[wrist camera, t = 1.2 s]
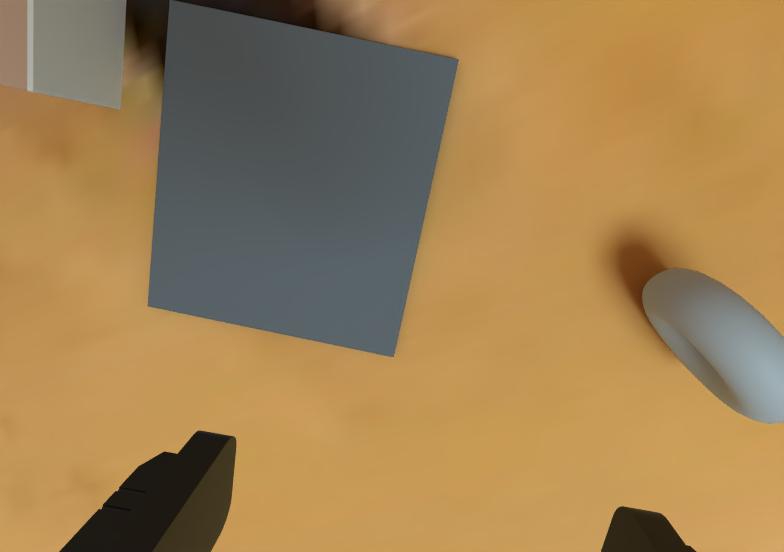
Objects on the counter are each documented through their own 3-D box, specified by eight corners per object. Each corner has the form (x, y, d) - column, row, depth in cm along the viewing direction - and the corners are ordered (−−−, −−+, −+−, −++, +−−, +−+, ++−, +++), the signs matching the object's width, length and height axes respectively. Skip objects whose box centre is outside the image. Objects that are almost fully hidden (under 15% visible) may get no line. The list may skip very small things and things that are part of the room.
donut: (606, 274, 30) (697, 324, 21) (651, 243, 30) (766, 279, 20) (684, 380, 32) (803, 473, 22) (728, 353, 31) (870, 436, 21)
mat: (174, 3, 28) (169, -1, 27) (457, 61, 28) (458, 59, 27) (152, 303, 32) (147, 306, 32) (393, 353, 32) (393, 357, 32)
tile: (101, -67, 27) (-5, -147, 20) (129, -61, 27) (33, -139, 20) (94, 104, 29) (-2, 84, 23) (121, 110, 29) (32, 92, 23)
